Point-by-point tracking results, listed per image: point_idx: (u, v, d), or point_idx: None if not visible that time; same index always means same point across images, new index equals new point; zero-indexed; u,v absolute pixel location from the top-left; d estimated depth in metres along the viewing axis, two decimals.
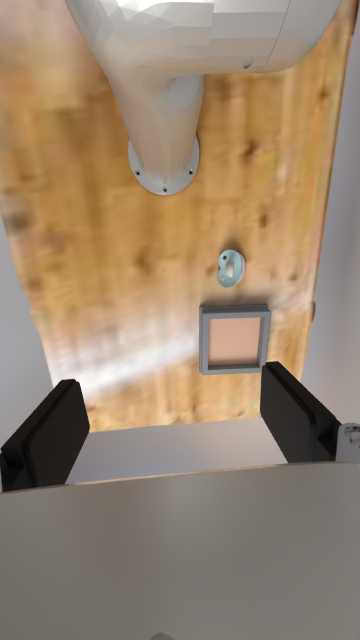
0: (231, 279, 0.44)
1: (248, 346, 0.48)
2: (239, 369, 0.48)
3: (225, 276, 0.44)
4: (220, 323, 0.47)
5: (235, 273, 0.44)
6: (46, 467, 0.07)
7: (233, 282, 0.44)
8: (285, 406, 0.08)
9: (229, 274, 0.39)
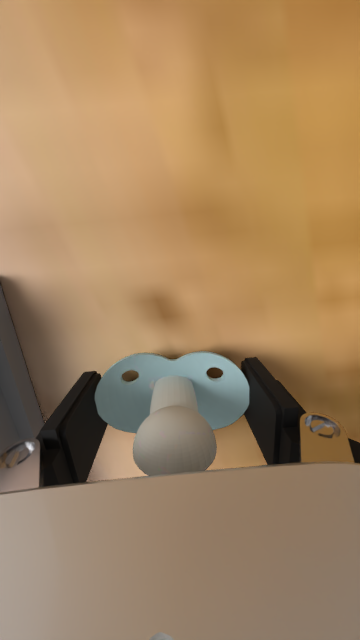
0: (132, 407, 0.11)
1: None
2: None
3: (142, 383, 0.11)
4: None
5: None
6: (77, 450, 0.08)
7: (121, 418, 0.11)
8: (258, 398, 0.09)
9: (147, 453, 0.07)
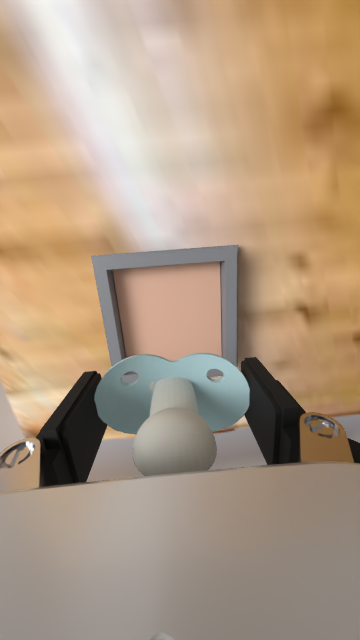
0: (132, 408, 0.11)
1: (161, 347, 0.26)
2: (115, 337, 0.23)
3: (142, 384, 0.11)
4: (206, 289, 0.24)
5: None
6: (77, 450, 0.08)
7: (120, 419, 0.11)
8: (258, 398, 0.09)
9: (147, 455, 0.07)
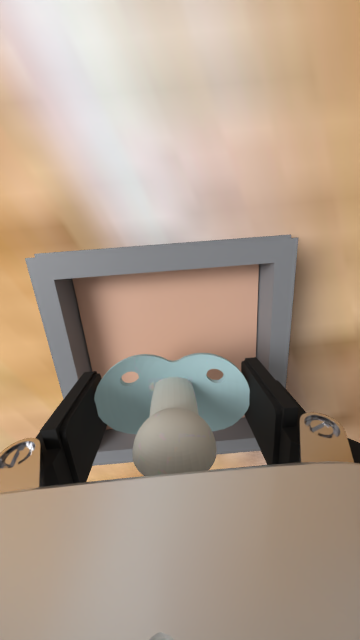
0: (132, 408, 0.11)
1: None
2: None
3: (142, 384, 0.11)
4: (234, 309, 0.14)
5: None
6: (77, 450, 0.08)
7: (120, 419, 0.11)
8: (258, 398, 0.09)
9: (147, 455, 0.07)
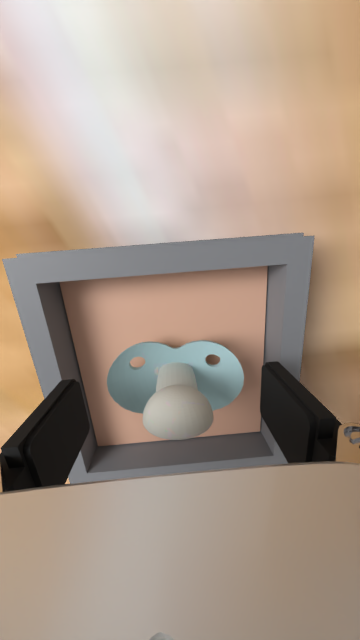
0: (139, 390, 0.12)
1: None
2: None
3: (148, 368, 0.12)
4: (240, 316, 0.13)
5: None
6: (46, 467, 0.07)
7: (129, 400, 0.12)
8: (285, 406, 0.08)
9: (155, 418, 0.08)
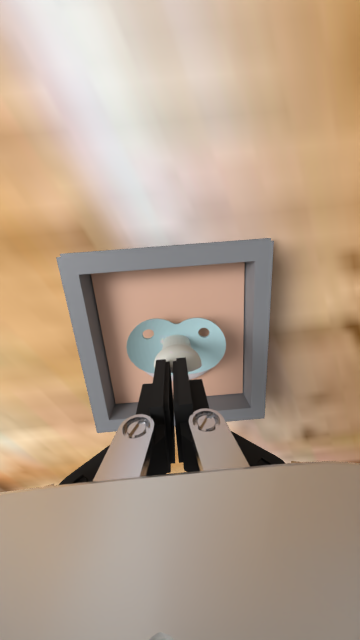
0: (149, 355, 0.17)
1: None
2: (95, 370, 0.16)
3: (156, 339, 0.17)
4: (224, 300, 0.17)
5: None
6: (171, 428, 0.09)
7: (141, 362, 0.16)
8: None
9: None
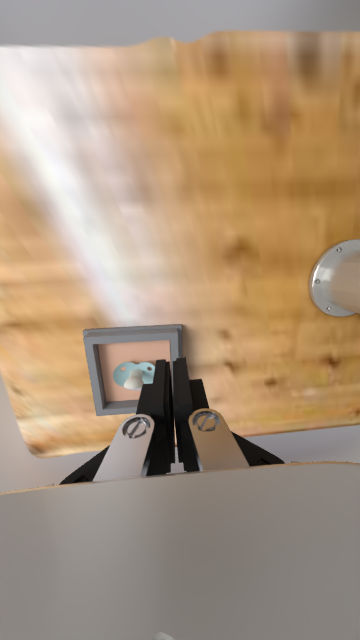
0: (123, 378, 0.35)
1: None
2: (97, 385, 0.35)
3: (127, 371, 0.35)
4: (160, 352, 0.36)
5: None
6: (171, 428, 0.09)
7: (119, 381, 0.35)
8: None
9: (127, 384, 0.31)
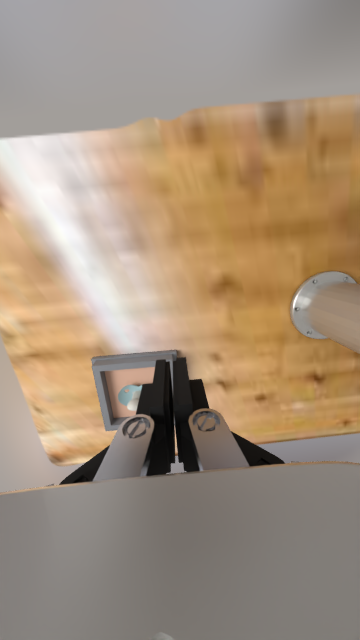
0: (127, 399, 0.40)
1: None
2: (105, 405, 0.40)
3: (130, 392, 0.40)
4: None
5: None
6: (171, 428, 0.09)
7: (124, 402, 0.40)
8: None
9: (129, 406, 0.36)
